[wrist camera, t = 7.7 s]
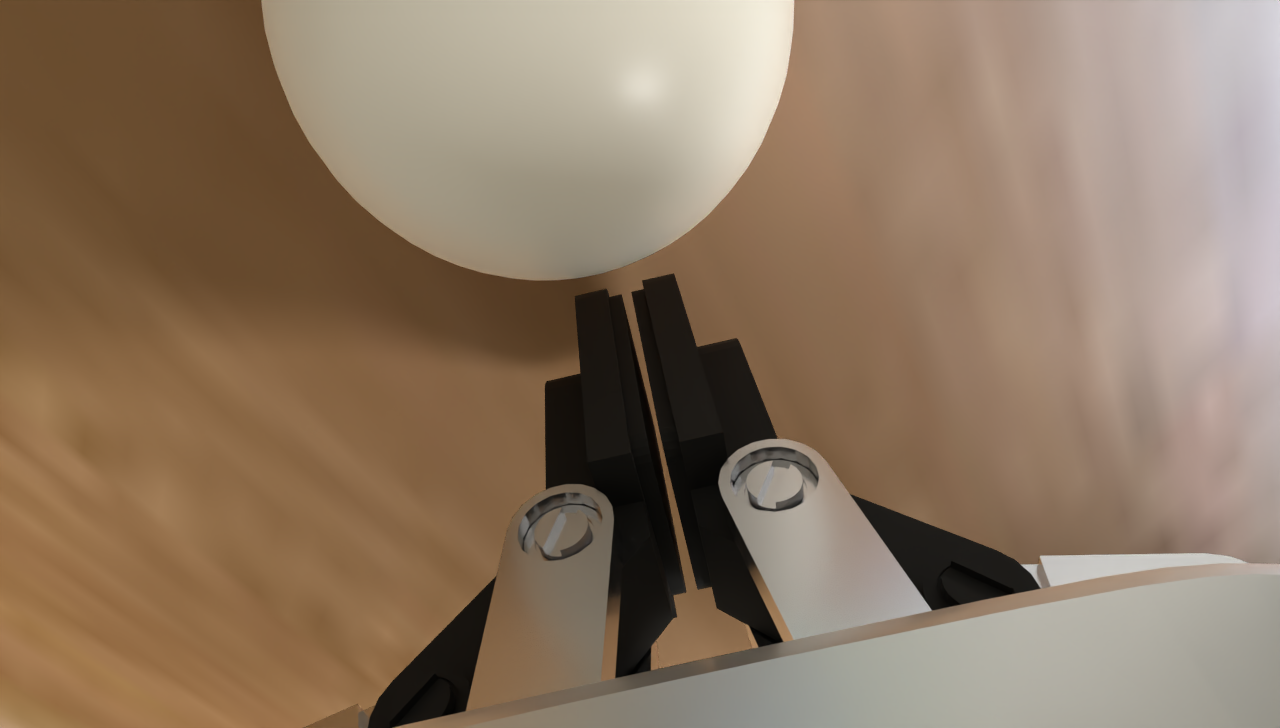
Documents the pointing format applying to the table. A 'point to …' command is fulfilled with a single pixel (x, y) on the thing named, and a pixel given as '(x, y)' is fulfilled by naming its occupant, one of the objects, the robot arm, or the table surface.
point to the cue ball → (534, 118)
